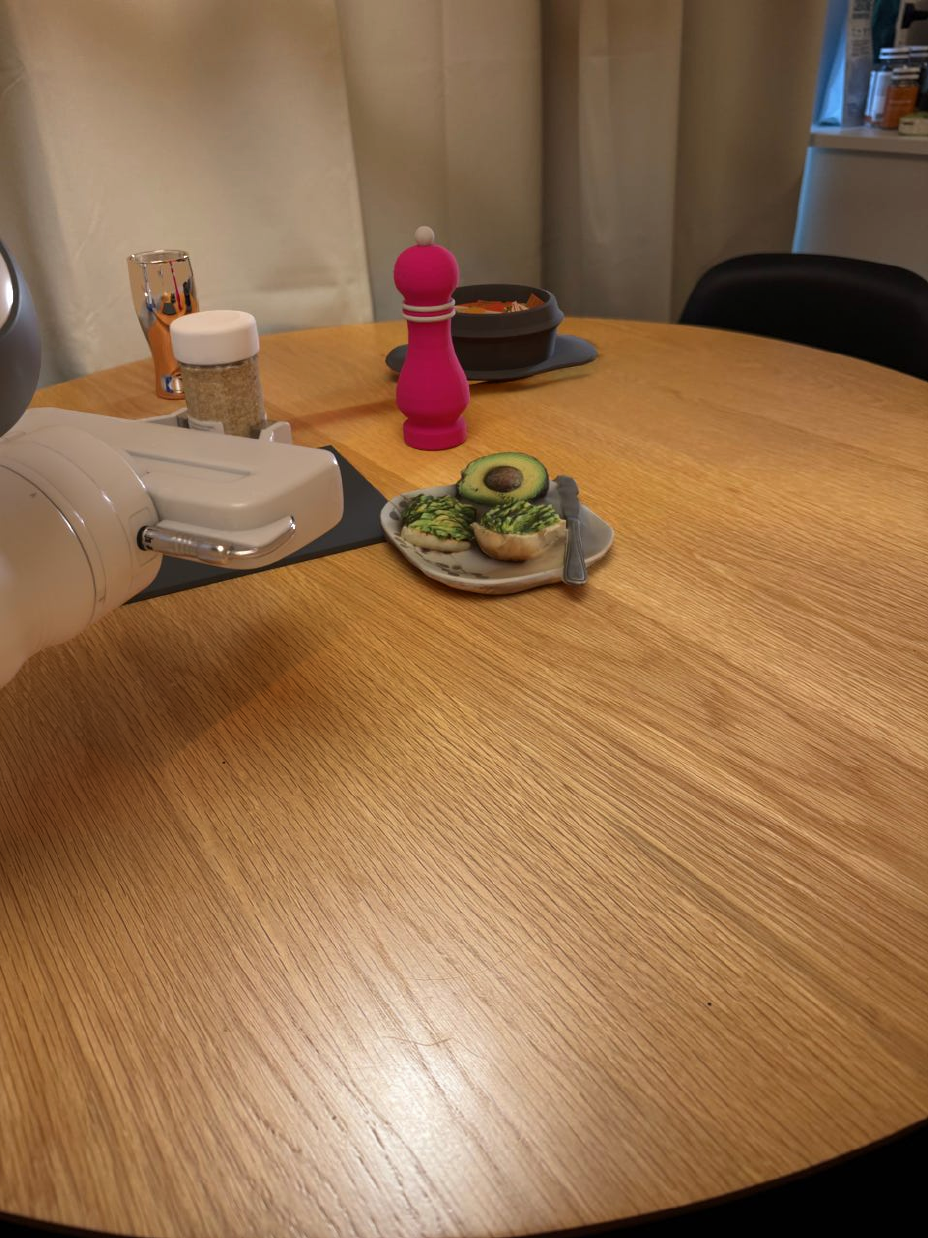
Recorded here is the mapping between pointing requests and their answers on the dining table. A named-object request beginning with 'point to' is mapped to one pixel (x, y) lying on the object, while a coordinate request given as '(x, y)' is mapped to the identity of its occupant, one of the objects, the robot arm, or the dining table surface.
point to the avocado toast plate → (498, 528)
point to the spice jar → (219, 370)
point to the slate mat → (348, 534)
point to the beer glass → (163, 308)
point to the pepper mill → (430, 347)
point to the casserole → (507, 334)
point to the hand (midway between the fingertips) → (239, 427)
